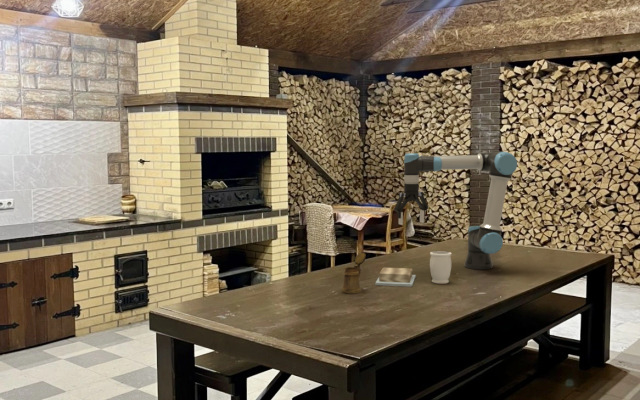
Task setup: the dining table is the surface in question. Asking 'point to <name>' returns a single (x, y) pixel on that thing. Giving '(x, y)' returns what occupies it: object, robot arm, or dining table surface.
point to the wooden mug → (353, 275)
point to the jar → (440, 266)
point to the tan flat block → (395, 275)
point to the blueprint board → (396, 283)
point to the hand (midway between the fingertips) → (411, 223)
